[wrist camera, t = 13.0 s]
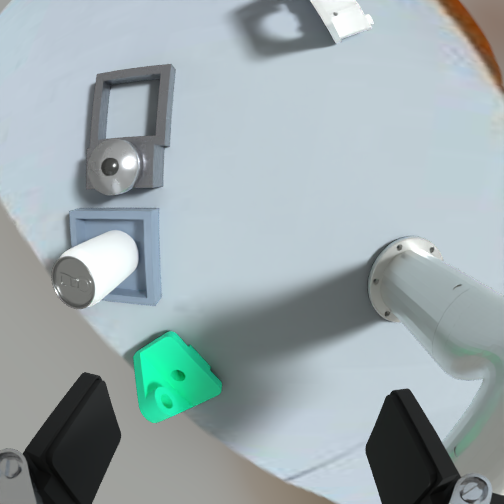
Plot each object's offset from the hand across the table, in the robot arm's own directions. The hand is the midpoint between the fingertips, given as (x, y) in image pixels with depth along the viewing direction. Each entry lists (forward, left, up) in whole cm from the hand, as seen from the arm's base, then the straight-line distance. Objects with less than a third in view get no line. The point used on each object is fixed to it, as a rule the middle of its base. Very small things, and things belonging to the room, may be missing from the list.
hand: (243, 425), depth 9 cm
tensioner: (+16, -13, -30) cm, 37 cm away
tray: (+18, +3, -30) cm, 35 cm away
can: (+18, +3, -30) cm, 35 cm away
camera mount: (+10, +20, -31) cm, 38 cm away
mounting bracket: (-8, -32, -31) cm, 45 cm away
